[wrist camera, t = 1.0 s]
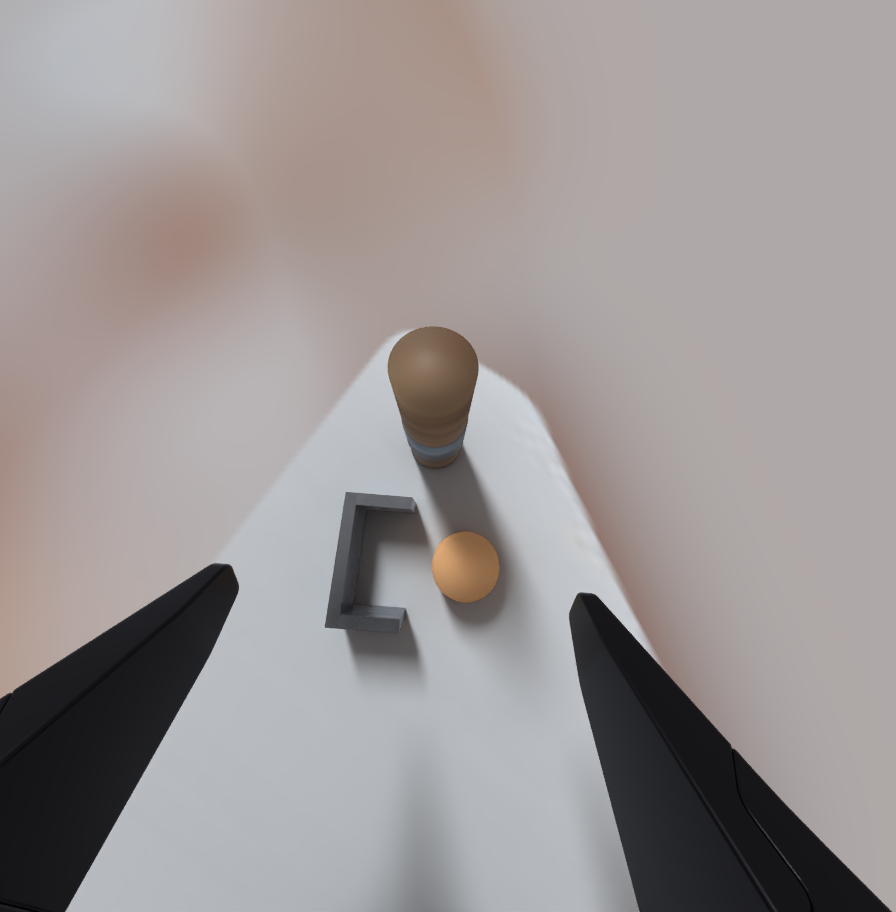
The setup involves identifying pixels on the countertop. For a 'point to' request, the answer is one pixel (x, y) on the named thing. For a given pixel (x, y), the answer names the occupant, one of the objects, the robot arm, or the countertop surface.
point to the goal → (347, 564)
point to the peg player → (433, 391)
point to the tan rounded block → (465, 566)
